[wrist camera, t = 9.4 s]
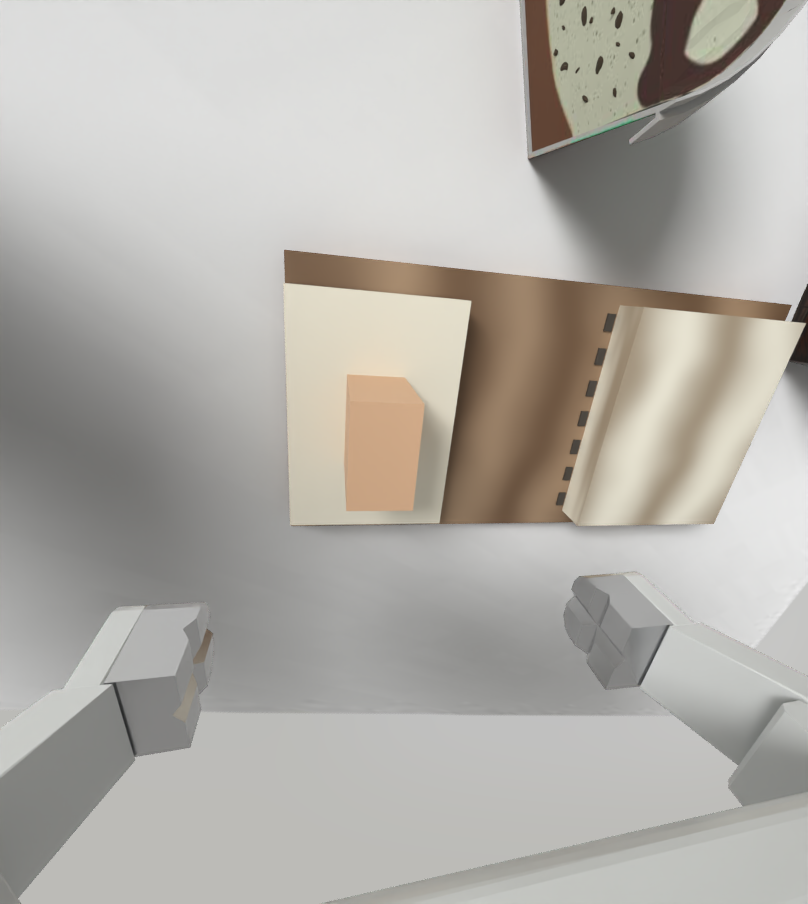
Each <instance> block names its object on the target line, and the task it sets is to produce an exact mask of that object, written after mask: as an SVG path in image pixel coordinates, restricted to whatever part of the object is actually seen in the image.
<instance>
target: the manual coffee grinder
mask: <svg viewBox="0 0 808 904" xmlns="http://www.w3.org/2000/svg"><path fill="white" fill-rule="evenodd" d="M792 322H799V323H806V325H805V327H804V329H803V331H802V333H801V335H800V338H799V340H798V342H797V344H796V346H795V348H794V351H793V353H792V355H791V357H790V359H789V361H790V362H794V363H798V364H802V365H808V284H807V287H806V289H805V291H804V293H803V295H802V298H801V300H800V302H799V305H798V307H797V310H796V312H795V314H794V317H793V319H792Z"/></svg>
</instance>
